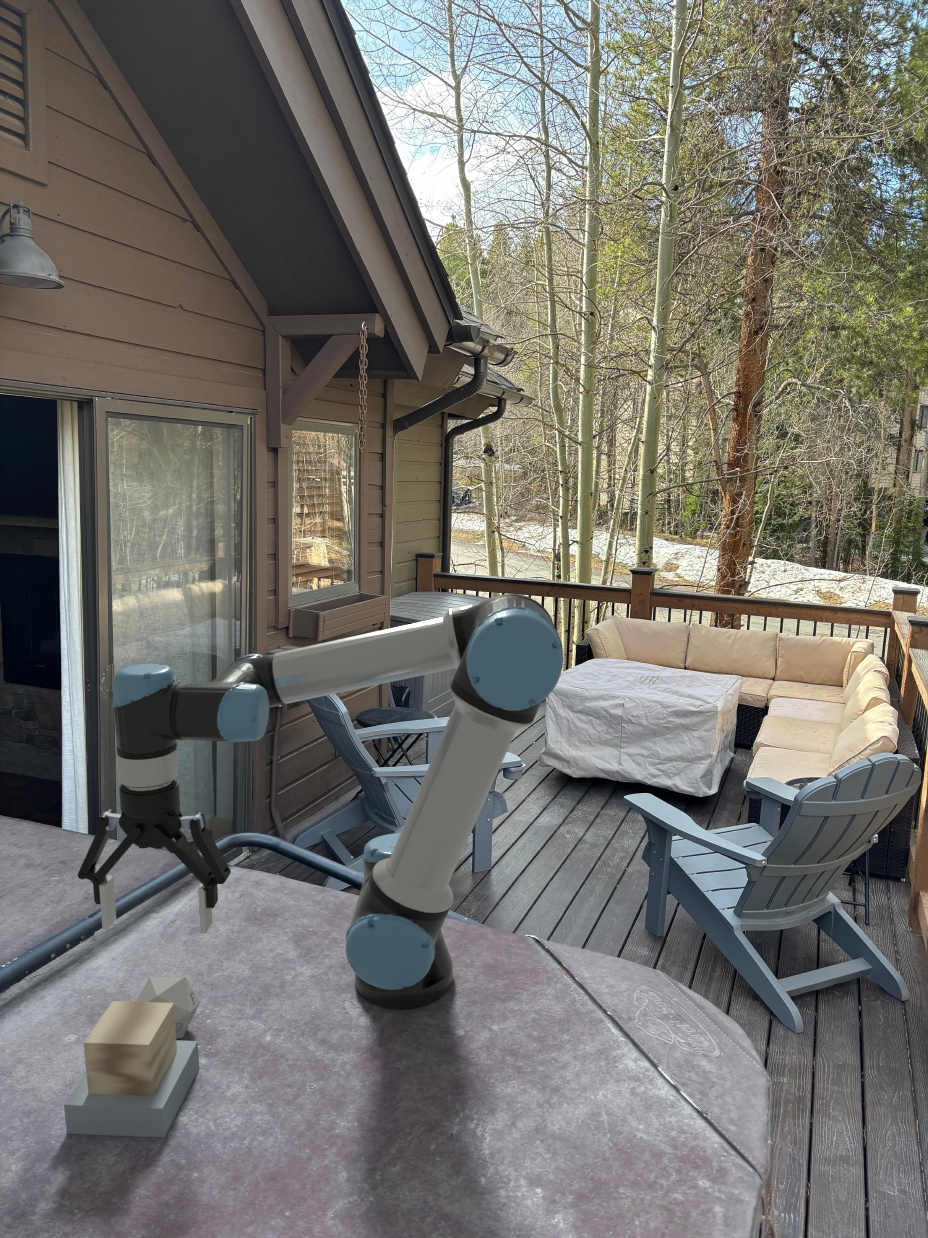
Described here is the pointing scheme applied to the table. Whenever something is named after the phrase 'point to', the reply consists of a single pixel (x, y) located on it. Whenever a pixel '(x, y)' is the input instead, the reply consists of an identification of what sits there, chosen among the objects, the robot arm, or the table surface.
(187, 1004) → the die
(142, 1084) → the maple block
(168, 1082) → the plinth
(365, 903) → the robot arm
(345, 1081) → the table surface
